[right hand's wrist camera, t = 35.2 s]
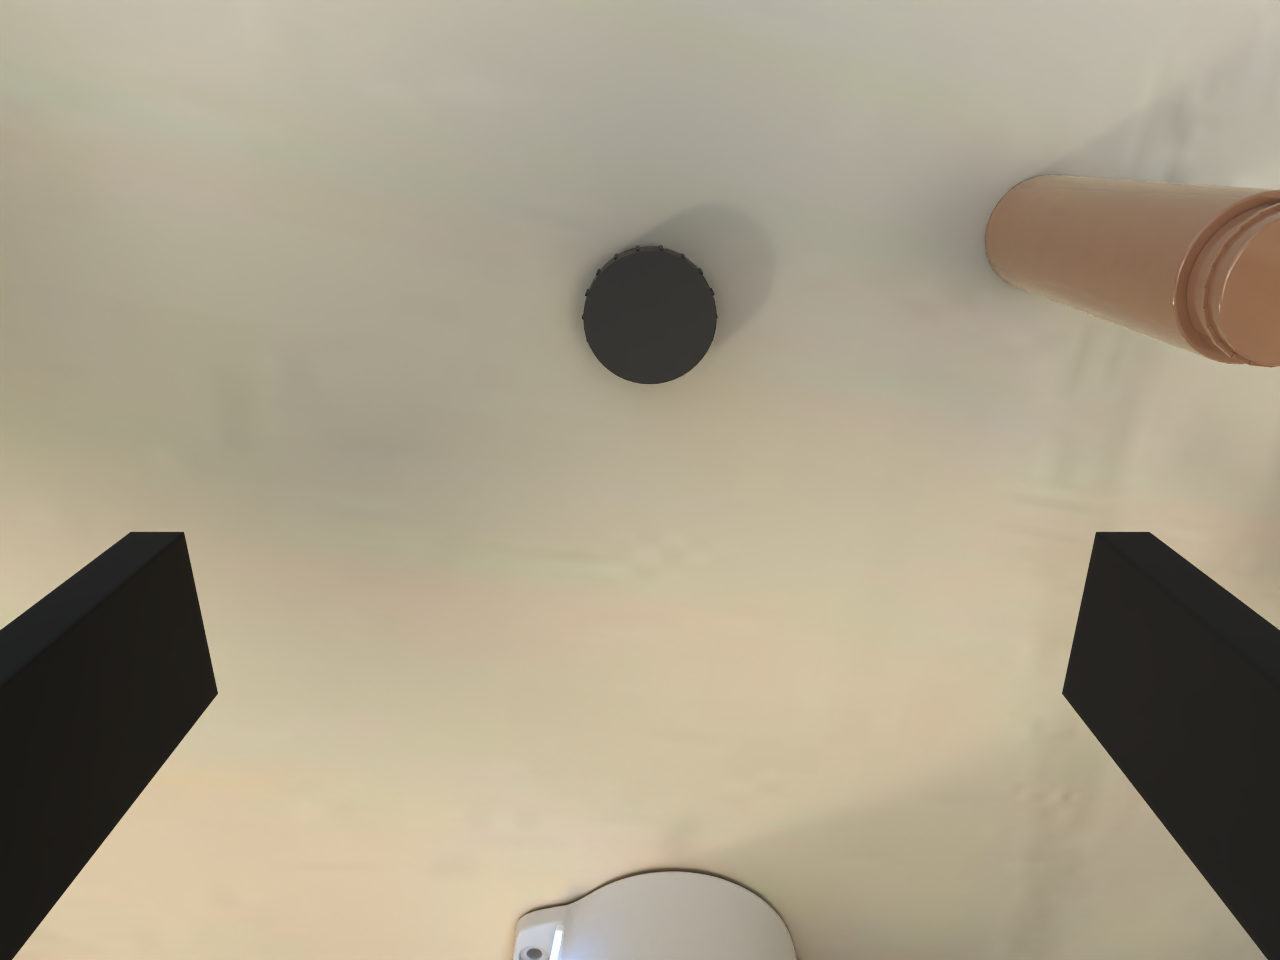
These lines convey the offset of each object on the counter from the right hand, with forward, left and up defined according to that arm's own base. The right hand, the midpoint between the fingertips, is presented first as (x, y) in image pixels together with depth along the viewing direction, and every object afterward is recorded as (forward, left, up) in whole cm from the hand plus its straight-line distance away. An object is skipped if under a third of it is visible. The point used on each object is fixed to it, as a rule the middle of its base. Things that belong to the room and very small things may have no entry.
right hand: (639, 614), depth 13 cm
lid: (0, 0, -24) cm, 25 cm away
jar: (+16, -6, -26) cm, 31 cm away
